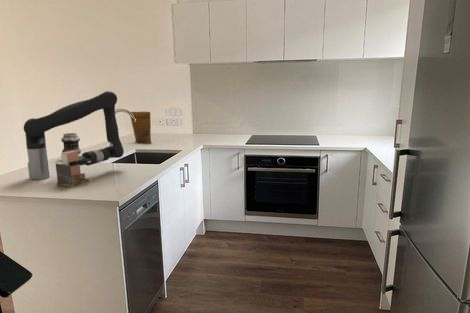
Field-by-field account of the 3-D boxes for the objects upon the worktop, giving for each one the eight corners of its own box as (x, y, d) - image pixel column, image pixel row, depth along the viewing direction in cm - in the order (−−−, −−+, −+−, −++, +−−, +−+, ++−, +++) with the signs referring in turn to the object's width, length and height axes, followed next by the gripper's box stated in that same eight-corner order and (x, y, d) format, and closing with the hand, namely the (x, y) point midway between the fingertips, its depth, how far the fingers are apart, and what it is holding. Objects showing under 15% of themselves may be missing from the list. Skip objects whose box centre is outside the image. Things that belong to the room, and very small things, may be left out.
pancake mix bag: (150, 144, 291) (148, 111, 285) (131, 143, 297) (128, 111, 291) (154, 143, 298) (152, 111, 292) (135, 141, 303) (133, 110, 297)
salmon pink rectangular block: (75, 177, 183) (72, 150, 179) (81, 178, 181) (78, 150, 178) (64, 180, 176) (60, 152, 173) (69, 181, 175) (66, 153, 171)
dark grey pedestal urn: (80, 160, 232) (78, 134, 228) (61, 161, 228) (58, 135, 224) (82, 156, 243) (80, 132, 239) (64, 158, 240) (61, 132, 236)
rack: (76, 179, 187) (74, 159, 184) (89, 181, 182) (87, 161, 180) (56, 185, 176) (54, 164, 174) (70, 188, 172) (67, 166, 169)
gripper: (83, 149, 191) (56, 155, 176) (101, 151, 186) (75, 158, 170) (84, 162, 193) (57, 169, 178) (102, 165, 187) (76, 172, 172)
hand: (66, 164), depth 174 cm, fingers closed on salmon pink rectangular block, 4 cm apart
